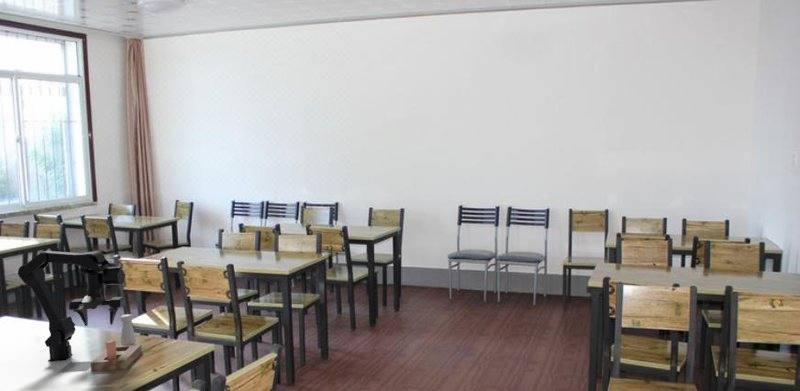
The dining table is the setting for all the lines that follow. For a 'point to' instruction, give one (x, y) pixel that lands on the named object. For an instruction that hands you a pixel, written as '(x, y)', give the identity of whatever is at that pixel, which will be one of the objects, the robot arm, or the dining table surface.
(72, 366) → the mat
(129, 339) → the salt shaker
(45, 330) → the dining table surface
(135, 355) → the socket block
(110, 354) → the peg
